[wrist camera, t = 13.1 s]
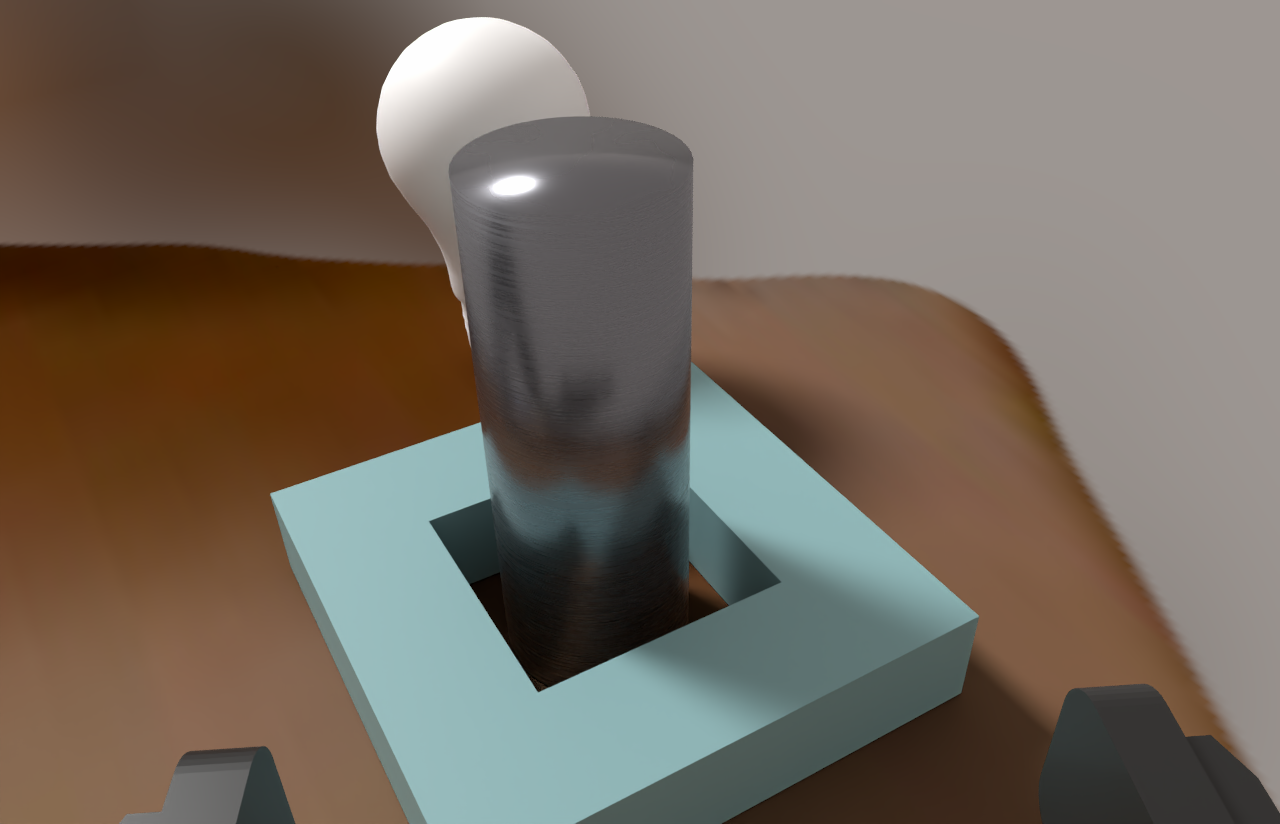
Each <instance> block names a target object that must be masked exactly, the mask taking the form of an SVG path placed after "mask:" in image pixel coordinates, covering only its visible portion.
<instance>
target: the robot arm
mask: <svg viewBox="0 0 1280 824" xmlns="http://www.w3.org/2000/svg"><path fill="white" fill-rule="evenodd" d="M1039 805H1040V813H1041V819H1042V823H1043V824H1280V813H1279V811H1278V810H1277V808H1276V807H1275V805H1274V803H1273V802H1272V800H1271V798H1270V797H1269V795H1268V793H1267V792H1266V790H1265V789H1264V787H1263V785H1262V784H1261V782H1260V780H1259V779H1258V778H1257V777H1256V776H1255V775H1254V774H1253V773H1252V772H1251V771H1250V770H1249V769H1247V768H1246V767H1245V766H1244V765H1243V764H1242V763H1241V762H1240V761H1239V760H1238V759H1236V758H1235V757H1234V756H1233V755H1232V754H1231V753H1230V752H1229V751H1228V750H1227V749H1225V748H1224V747H1223V746H1222V745H1221V744H1220V743H1219V742H1218V741H1217V740H1216V739H1214V738H1213V737H1212V736H1211V735H1206V736H1191V737H1185V735H1184V734H1183V732H1182V730H1181V728H1180V727H1179V725H1178V723H1177V721H1176V720H1175V718H1174V716H1173V714H1172V713H1171V711H1170V709H1169V707H1168V706H1167V704H1166V702H1165V701H1164V699H1163V697H1162V696H1161V695H1160V694H1159V692H1158V691H1157V690H1156V689H1154V688H1153V687H1152V686H1150V685H1147V684H1134V685H1119V686H1104V687H1089V688H1075V689H1072V690H1071V691H1069V692H1068V694H1067V695H1066V698H1065V700H1064V703H1063V706H1062V710H1061V713H1060V716H1059V719H1058V722H1057V725H1056V728H1055V732H1054V735H1053V738H1052V741H1051V744H1050V747H1049V750H1048V754H1047V757H1046V760H1045V763H1044V766H1043V769H1042V772H1041V776H1040V781H1039ZM119 824H295V821H294V818H293V816H292V813H291V810H290V807H289V804H288V801H287V798H286V795H285V792H284V789H283V786H282V783H281V780H280V777H279V774H278V772H277V769H276V766H275V763H274V760H273V757H272V755H271V752H270V751H269V749H268V748H267V747H264V746H261V747H247V748H232V749H217V750H202V751H189V752H187V753H185V754H184V755H183V756H182V758H181V759H180V761H179V762H178V764H177V766H176V769H175V772H174V775H173V778H172V781H171V784H170V787H169V790H168V793H167V796H166V799H165V803H164V806H163V809H162V812H152V813H138V814H127V815H126V816H125V817H124V818H123V820H122V821H121V822H120V823H119Z"/></svg>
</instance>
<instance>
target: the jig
mask: <svg viewBox="0 0 1280 824" xmlns="http://www.w3.org/2000/svg"><path fill="white" fill-rule="evenodd" d="M270 495H271V498H272V502H273V505H274V509H275V512H276V516H277V519H278V523H279V526H280V530H281V534H282V537H283V541H284V544H285V548H286V551H287V555H288V558H289V562H290V565H291V568H292V570H293V572H294V575H295V577H296V579H297V581H298V583H299V585H300V588H301V590H302V592H303V594H304V596H305V598H306V601H307V603H308V605H309V607H310V609H311V611H312V614H313V616H314V618H315V620H316V622H317V624H318V627H319V629H320V631H321V633H322V635H323V638H324V640H325V642H326V644H327V646H328V648H329V651H330V653H331V655H332V657H333V659H334V661H335V664H336V666H337V668H338V670H339V672H340V674H341V677H342V679H343V681H344V683H345V685H346V687H347V690H348V692H349V694H350V696H351V698H352V700H353V703H354V705H355V707H356V709H357V711H358V713H359V716H360V718H361V720H362V722H363V724H364V726H365V729H366V731H367V733H368V735H369V737H370V740H371V742H372V744H373V746H374V748H375V750H376V753H377V755H378V757H379V759H380V761H381V763H382V766H383V768H384V770H385V772H386V774H387V776H388V779H389V781H390V783H391V785H392V787H393V789H394V792H395V794H396V796H397V798H398V800H399V802H400V805H401V807H402V809H403V811H404V813H405V815H406V818H407V820H408V822H409V824H722V823H724V822H725V821H727V820H729V819H731V818H733V817H735V816H736V815H738V814H740V813H742V812H744V811H746V810H747V809H749V808H751V807H753V806H755V805H757V804H758V803H760V802H762V801H764V800H766V799H768V798H769V797H771V796H773V795H775V794H777V793H779V792H781V791H782V790H784V789H786V788H788V787H790V786H792V785H793V784H795V783H797V782H799V781H801V780H803V779H804V778H806V777H808V776H810V775H812V774H814V773H815V772H817V771H819V770H821V769H823V768H825V767H826V766H828V765H830V764H832V763H834V762H836V761H837V760H839V759H841V758H843V757H845V756H847V755H848V754H850V753H852V752H854V751H856V750H858V749H859V748H861V747H863V746H865V745H867V744H869V743H870V742H872V741H874V740H876V739H878V738H880V737H881V736H883V735H885V734H887V733H889V732H891V731H892V730H894V729H896V728H898V727H900V726H902V725H903V724H905V723H907V722H909V721H911V720H913V719H914V718H916V717H918V716H920V715H922V714H924V713H925V712H927V711H929V710H931V709H933V708H935V707H936V706H938V705H940V704H942V703H944V702H946V701H947V700H949V699H951V698H953V697H955V696H957V695H958V694H960V693H961V692H962V687H963V683H964V679H965V675H966V670H967V666H968V662H969V657H970V653H971V649H972V645H973V640H974V636H975V632H976V627H977V623H978V619H979V616H978V615H977V614H976V613H975V612H974V611H973V610H972V609H970V608H969V607H968V606H967V605H966V604H965V603H964V602H962V601H961V600H960V599H959V598H958V597H957V596H956V595H955V594H953V593H952V592H951V591H950V590H949V589H948V588H947V587H946V586H944V585H943V584H942V583H941V582H940V581H939V580H938V579H936V578H935V577H934V576H933V575H932V574H931V573H930V572H929V571H927V570H926V569H925V568H924V567H923V566H922V565H921V564H920V563H918V562H917V561H916V560H915V559H914V558H913V557H912V556H910V555H909V554H908V553H907V552H906V551H905V550H904V549H903V548H901V547H900V546H899V545H898V544H897V543H896V542H895V541H893V540H892V539H891V538H890V537H889V536H888V535H887V534H886V533H884V532H883V531H882V530H881V529H880V528H879V527H878V526H877V525H875V524H874V523H873V522H872V521H871V520H870V519H869V518H867V517H866V516H865V515H864V514H863V513H862V512H861V511H860V510H858V509H857V508H856V507H855V506H854V505H853V504H852V503H851V502H849V501H848V500H847V499H846V498H845V497H844V496H843V495H841V494H840V493H839V492H838V491H837V490H836V489H835V488H834V487H832V486H831V485H830V484H829V483H828V482H827V481H826V480H825V479H823V478H822V477H821V476H820V475H819V474H818V473H817V472H815V471H814V470H813V469H812V468H811V467H810V466H809V465H808V464H806V463H805V462H804V461H803V460H802V459H801V458H800V457H799V456H797V455H796V454H795V453H794V452H793V451H792V450H791V449H789V448H788V447H787V446H786V445H785V444H784V443H783V442H782V441H780V440H779V439H778V438H777V437H776V436H775V435H774V434H773V433H771V432H770V431H769V430H768V429H767V428H766V427H765V426H763V425H762V424H761V423H760V422H759V421H758V420H757V419H756V418H754V417H753V416H752V415H751V414H750V413H749V412H748V411H747V410H745V409H744V408H743V407H742V406H741V405H740V404H739V403H737V402H736V401H735V400H734V399H733V398H732V397H731V396H730V395H728V394H727V393H726V392H725V391H724V390H723V389H722V388H720V387H719V386H718V385H717V384H716V383H715V382H714V381H713V380H711V379H710V378H709V377H708V376H707V375H706V374H705V373H704V372H702V371H701V370H700V369H699V368H698V367H697V366H696V365H694V364H693V363H692V362H691V410H690V505H689V561H690V562H691V563H692V565H693V566H694V567H695V568H696V569H697V570H698V571H699V572H700V574H701V575H702V576H703V577H704V578H705V579H706V580H707V581H708V583H709V584H710V585H711V586H712V587H713V588H714V589H715V590H716V592H717V593H718V594H719V595H720V596H721V597H722V598H723V599H724V601H725V602H726V603H727V604H728V605H729V606H728V607H726V608H724V609H721V610H719V611H717V612H715V613H713V614H710V615H708V616H706V617H704V618H702V619H699V620H697V621H695V622H693V623H690V624H688V625H686V626H684V627H682V628H679V629H677V630H675V631H673V632H671V633H668V634H666V635H664V636H662V637H660V638H657V639H655V640H653V641H651V642H649V643H646V644H644V645H642V646H640V647H638V648H635V649H633V650H631V651H629V652H627V653H624V654H622V655H620V656H618V657H615V658H613V659H611V660H609V661H607V662H604V663H602V664H600V665H598V666H596V667H593V668H591V669H589V670H587V671H585V672H582V673H580V674H578V675H576V676H574V677H571V678H569V679H567V680H565V681H563V682H560V683H558V684H556V685H554V686H552V687H549V688H547V689H545V690H543V691H541V692H537V690H536V689H535V687H534V686H533V684H532V682H531V681H530V679H529V678H528V676H527V675H526V673H525V671H524V670H523V668H522V667H521V665H520V664H519V662H518V660H517V659H516V657H515V656H514V654H513V653H512V651H511V649H510V648H509V646H508V645H507V643H506V642H505V640H504V638H503V637H502V635H501V634H500V632H499V631H498V629H497V628H496V626H495V624H494V623H493V621H492V620H491V618H490V617H489V615H488V613H487V612H486V610H485V609H484V607H483V606H482V604H481V602H480V601H479V599H478V598H477V596H476V595H475V593H474V591H473V590H472V588H471V587H470V585H469V584H471V583H474V582H476V581H479V580H481V579H484V578H486V577H489V576H491V575H494V574H496V573H499V572H500V567H499V560H498V552H497V544H496V536H495V529H494V521H493V513H492V505H491V498H490V490H489V482H488V474H487V466H486V459H485V451H484V443H483V435H482V428H481V423H478V424H475V425H472V426H469V427H466V428H463V429H460V430H457V431H454V432H451V433H448V434H445V435H442V436H439V437H436V438H434V439H431V440H428V441H425V442H422V443H419V444H416V445H413V446H410V447H407V448H404V449H401V450H398V451H395V452H392V453H389V454H386V455H383V456H380V457H377V458H374V459H371V460H369V461H366V462H363V463H360V464H357V465H354V466H351V467H348V468H345V469H342V470H339V471H336V472H333V473H330V474H327V475H324V476H321V477H318V478H315V479H312V480H309V481H307V482H304V483H301V484H298V485H295V486H292V487H289V488H286V489H283V490H280V491H277V492H274V493H271V494H270Z"/></svg>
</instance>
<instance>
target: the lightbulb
mask: <svg viewBox="0 0 1280 824" xmlns="http://www.w3.org/2000/svg"><path fill="white" fill-rule="evenodd" d="M573 116H590V112H589V108H588V104H587V100H586V96H585V93H584V90H583V88H582V85H581V83H580V81H579V78H578V76H577V75H576V73H575V72H574V71H573V69H572V68H571V66H570V65H569V64H568V62H567V61H566V59H565V58H564V57H563V55H562V54H561V53H560V52H559V51H558V50H557V49H556V48H555V47H554V46H553V45H552V44H551V43H550V42H549V41H547V40H546V39H544V38H543V37H541V36H539V35H538V34H536V33H534V32H533V31H531V30H529V29H527V28H525V27H523V26H520V25H517V24H515V23H512V22H509V21H506V20H502V19H497V18H467V19H459V20H455V21H450V22H447V23H444V24H442V25H440V26H438V27H436V28H434V29H432V30H430V31H429V32H427V33H425V34H423V35H422V36H421V37H419V38H418V39H417V40H416V41H414V42H413V43H412V44H411V45H410V46H408V47H407V48H406V49H405V50H404V51H403V53H402V54H401V56H400V57H399V58H398V60H397V61H396V62H395V64H394V65H393V67H392V68H391V70H390V72H389V74H388V76H387V78H386V81H385V83H384V85H383V87H382V91H381V96H380V100H379V105H378V110H377V129H376V130H377V136H378V142H379V149H380V152H381V156H382V158H383V161H384V163H385V166H386V168H387V170H388V173H389V175H390V178H391V179H392V181H393V182H394V184H395V185H396V186H397V188H398V189H399V191H400V192H401V193H402V195H403V196H404V198H405V199H406V200H407V202H408V203H409V205H410V206H411V207H412V208H413V209H414V210H415V212H416V213H417V214H418V215H419V217H420V218H421V219H422V220H423V221H424V222H425V224H426V225H427V226H428V228H429V229H430V231H431V233H432V234H433V236H434V238H435V240H436V242H437V243H438V245H439V247H440V249H441V251H442V254H443V257H444V259H445V262H446V265H447V268H448V272H449V277H450V282H451V286H452V290H453V292H454V294H455V296H456V297H457V299H458V300H459V301H461V303H462V308H463V317H464V320H465V327H466V330H467V333H468V338H469V343H470V346H471V342H470V334H469V327H468V319H467V311H466V303H465V296H464V288H463V280H462V272H461V265H460V257H459V249H458V241H457V233H456V226H455V218H454V210H453V202H452V195H451V187H450V179H449V164H450V162H451V160H452V158H453V157H454V155H455V154H456V153H457V152H458V151H459V150H460V149H461V148H462V147H463V146H465V145H466V144H468V143H469V142H471V141H472V140H474V139H476V138H478V137H480V136H482V135H484V134H487V133H489V132H491V131H494V130H497V129H500V128H503V127H506V126H510V125H514V124H518V123H522V122H527V121H533V120H539V119H546V118H556V117H573Z"/></svg>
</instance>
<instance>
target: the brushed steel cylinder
mask: <svg viewBox="0 0 1280 824" xmlns="http://www.w3.org/2000/svg"><path fill="white" fill-rule="evenodd" d="M449 179H450V187H451V195H452V202H453V210H454V218H455V226H456V233H457V241H458V249H459V257H460V265H461V272H462V280H463V288H464V296H465V303H466V311H467V319H468V327H469V334H470V342H471V350H472V358H473V365H474V373H475V381H476V389H477V397H478V404H479V412H480V420H481V428H482V435H483V443H484V451H485V459H486V466H487V474H488V482H489V490H490V498H491V505H492V513H493V521H494V529H495V536H496V544H497V552H498V560H499V567H500V575H501V583H502V591H503V598H504V606H505V614H506V622H507V630H508V637H509V643H510V646H511V649H512V652H513V654H514V656H515V657H516V659H517V660H518V662H519V664H520V665H521V666H522V667H523V668H524V669H525V670H526V671H527V672H528V673H529V674H530V675H531V676H533V677H534V678H535V679H537V680H538V681H540V682H542V683H544V684H546V685H547V686H549V687H552V686H554V685H556V684H558V683H560V682H563V681H565V680H567V679H569V678H571V677H574V676H576V675H578V674H580V673H582V672H585V671H587V670H589V669H591V668H593V667H596V666H598V665H600V664H602V663H604V662H607V661H609V660H611V659H613V658H615V657H618V656H620V655H622V654H624V653H627V652H629V651H631V650H633V649H635V648H638V647H640V646H642V645H644V644H646V643H649V642H651V641H653V640H655V639H657V638H660V637H662V636H664V635H666V634H668V633H671V632H673V631H675V630H677V629H679V628H682V627H684V626H686V625H688V600H689V505H690V410H691V314H692V217H693V211H692V210H693V157H692V154H691V151H690V150H689V148H688V147H687V146H686V145H685V144H684V143H683V142H682V141H681V140H680V139H678V138H677V137H675V136H674V135H672V134H670V133H668V132H666V131H664V130H662V129H659V128H656V127H654V126H650V125H647V124H643V123H639V122H635V121H630V120H623V119H617V118H608V117H592V116H573V117H556V118H546V119H539V120H533V121H527V122H522V123H518V124H514V125H510V126H506V127H503V128H500V129H497V130H494V131H491V132H489V133H487V134H484V135H482V136H480V137H478V138H476V139H474V140H472V141H471V142H469V143H468V144H466V145H465V146H463V147H462V148H461V149H460V150H459V151H458V152H457V153H456V154H455V155H454V157H453V158H452V160H451V162H450V164H449Z"/></svg>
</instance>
